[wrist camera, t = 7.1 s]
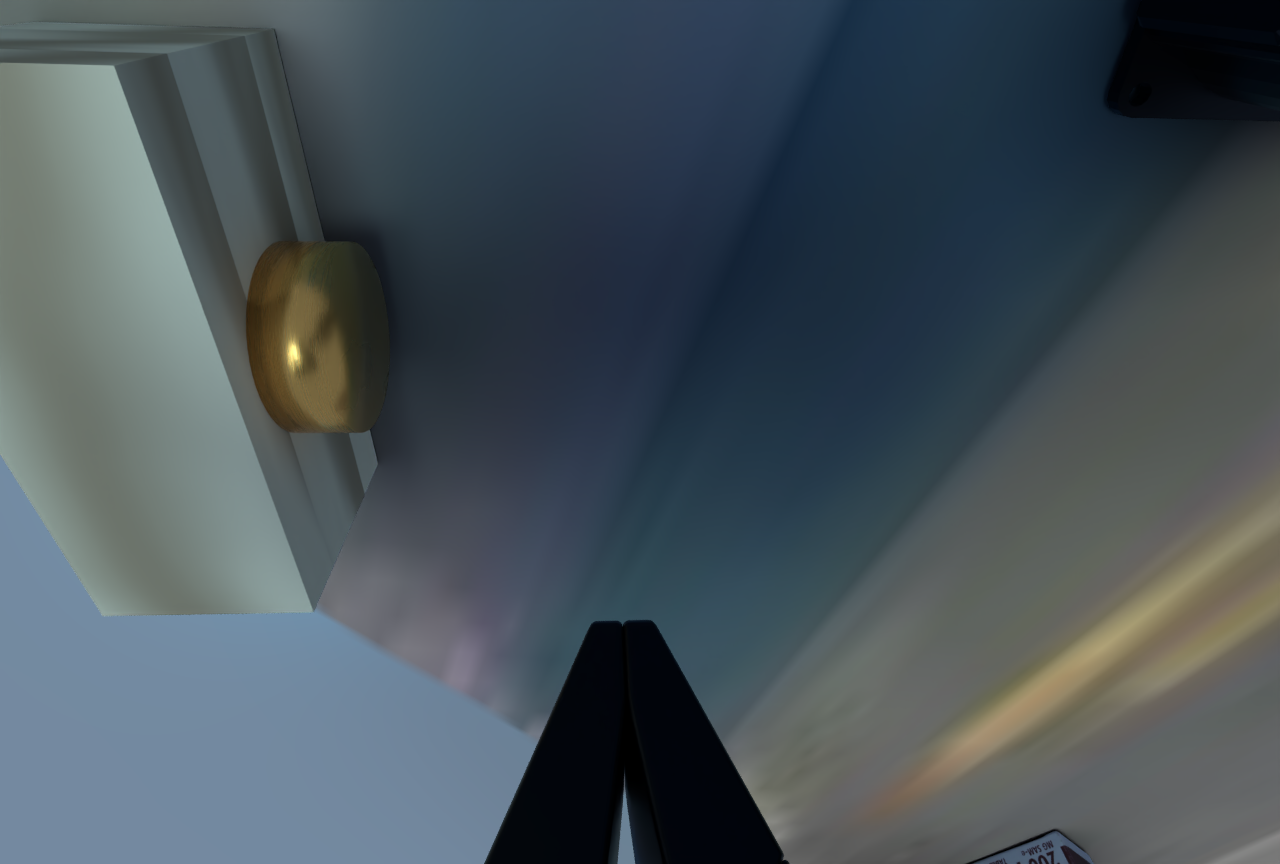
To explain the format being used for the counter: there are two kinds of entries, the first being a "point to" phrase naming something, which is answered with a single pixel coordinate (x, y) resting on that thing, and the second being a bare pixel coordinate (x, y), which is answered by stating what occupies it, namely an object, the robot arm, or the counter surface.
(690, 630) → the counter surface
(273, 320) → the pin
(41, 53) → the block
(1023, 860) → the supplement box
